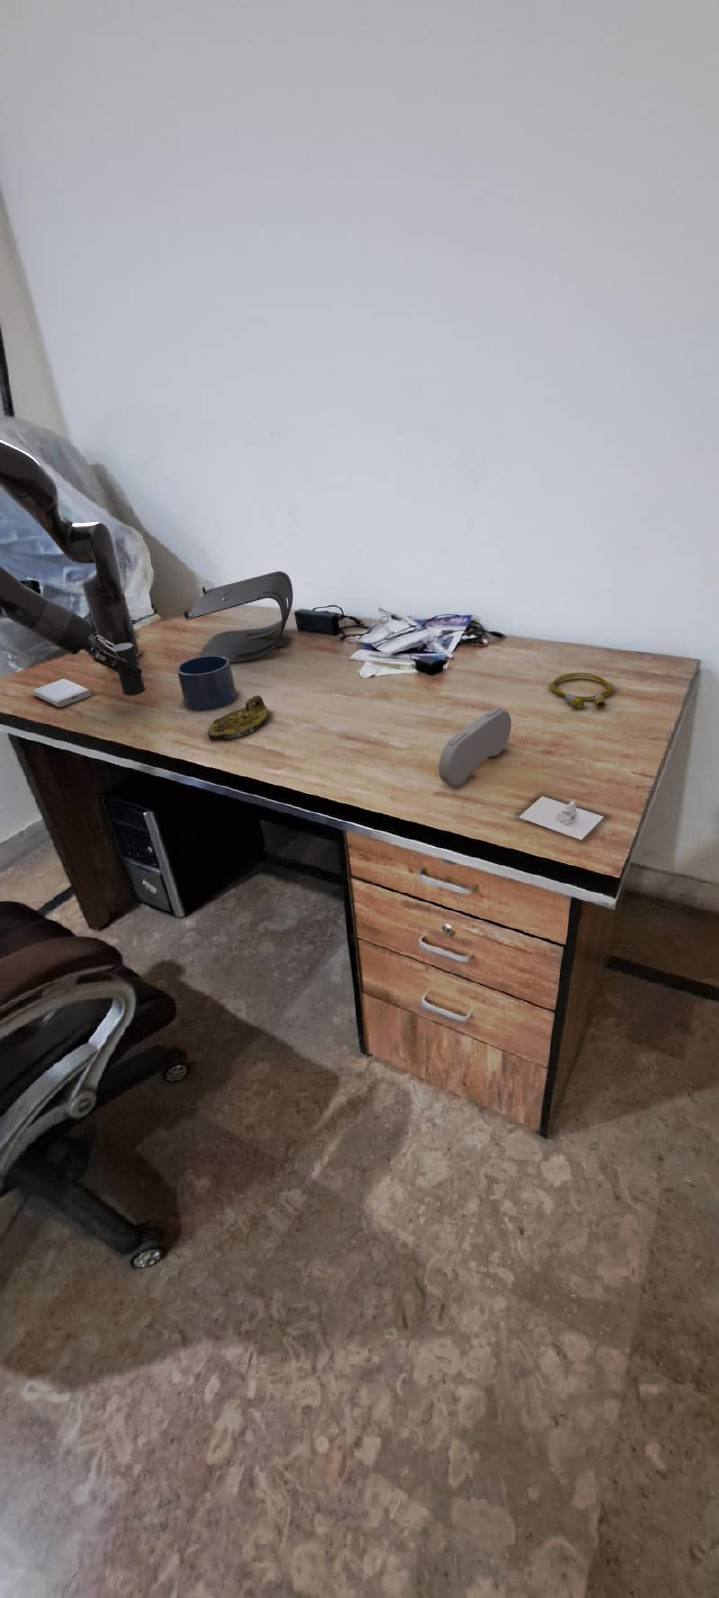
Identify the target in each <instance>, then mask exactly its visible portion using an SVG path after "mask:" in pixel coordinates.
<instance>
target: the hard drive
mask: <svg viewBox="0 0 719 1598" xmlns="http://www.w3.org/2000/svg"><path fill="white" fill-rule="evenodd" d="M32 692H33V695H34V696H36V697H38V698H39V699H41V700H43V701H45V702H48V703H50V704H51V705H54V706H55V707H58V708H62V707H65V706H68V705H70V704H72V703H76V702H78V701H81V700H84V699H86V698H89V697H91V696H92V691H91V689H88V688H87V687H84V686H82V685H80V684H78V683H75V682H73V681H71V680H69V679H66V678H61V679H58V680H55V681H54V682H51V683H48V684H45V685H42V686H40V687H38V688H35V689H33V690H32Z"/></svg>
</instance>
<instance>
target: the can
mask: <svg viewBox="0 0 719 1598" xmlns="http://www.w3.org/2000/svg"><path fill="white" fill-rule="evenodd" d="M176 673H177V677H178V682H179V685H180V686H179V687H180V689H181V693H182V698H183V701H184V705H185V707H187V708H188V709H191V710H195V711H208V710H214V709H218V708H221V707H225V706H227V705H229V704H230V703H232V702H233V701H235V700H236V698H237V690H236V686H235V681H234V675H233V671H232V666H231V663H230V660H229V659H228V658H226V657H224V656H218V655H210V656H203V655H202V656H197V657H193V658H191V659H187V660H185V661H183V662H181V663H180V664H179V665H178V666H177V668H176Z"/></svg>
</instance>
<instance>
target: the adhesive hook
mask: <svg viewBox="0 0 719 1598" xmlns="http://www.w3.org/2000/svg"><path fill="white" fill-rule="evenodd" d="M577 808H578V807H577V804H576V799H572V800H571V801H570V802H569V803H568V804H567V805H566V806H565V807H564V808H562V809H561V810H560V811H559V812H558V813H557V815H556V817H555V819H554V820H555V821H559V822H562V823H563V824H564V825H568V824H571V823H573V822H575V821H577V820H578V819H579V812H578V811H577Z"/></svg>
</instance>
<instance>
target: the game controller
mask: <svg viewBox="0 0 719 1598" xmlns="http://www.w3.org/2000/svg"><path fill="white" fill-rule="evenodd" d="M511 730H512V719H511V715H510V713H509V711H507V710H504V709H503V708H502V707H493V708H492V709H490V710H488V711H487V712H485V713H484V714H482V715H481V716H480V717H478V718H477V719H475V720H474V721H473V722H471V723H470V724H468V725H467V726H466V727H464V728H463V729H462V730H460V731H459V732H457V733H456V734H455V735H454V736H452V737H451V738H450V739H449V740H448V741H447V742H446V744H445V745H444V747H443V749H442V751H441V754H440V757H439V762H438V775H439V777H440V780H441V781H442V782H443V783H445V784H448V785H451V786H454V787H457V786H460V785H462V784H463V783H464V782H466V780H467V779H468V778H469V777H470V775H471V773H472V771H474V770H475V769H476V768H477V767H479V766H481V764H482V763H484V762H485V761H486V760H487V759H488V758H490V757H497V756H498V755H500V754H501V753H502V751H504V749H505V747H506V745H507V743H508V741H509V738H510V735H511Z"/></svg>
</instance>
